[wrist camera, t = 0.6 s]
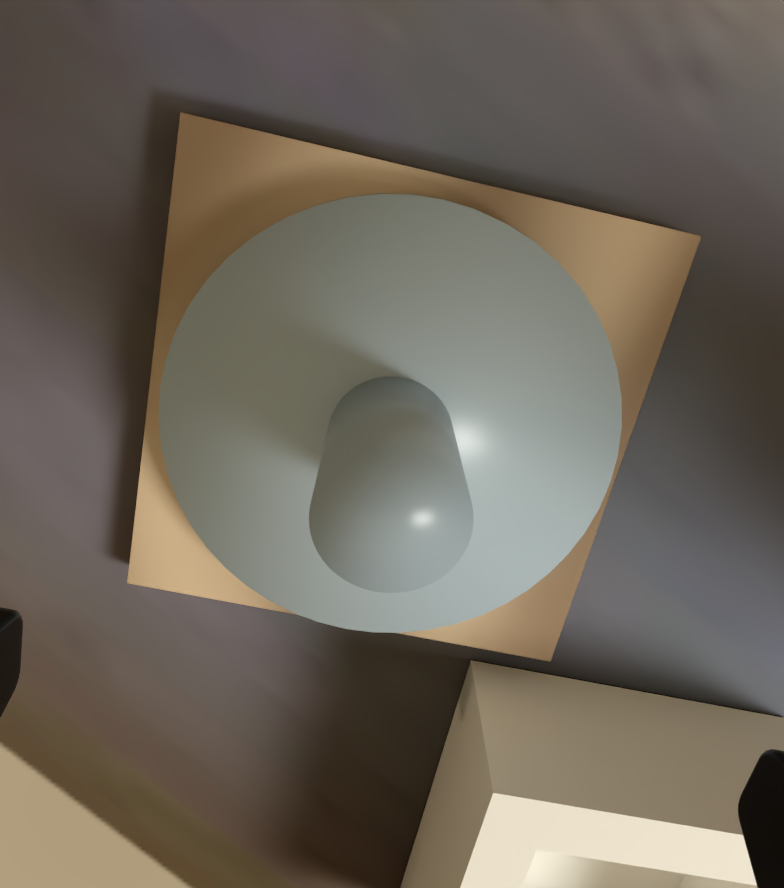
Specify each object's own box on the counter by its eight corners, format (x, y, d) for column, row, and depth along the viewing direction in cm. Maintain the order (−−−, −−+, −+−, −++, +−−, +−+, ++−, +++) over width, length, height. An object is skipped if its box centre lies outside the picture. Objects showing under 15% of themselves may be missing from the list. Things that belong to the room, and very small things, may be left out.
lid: (673, 253, 17) (794, 289, 12) (538, 643, 21) (587, 798, 16) (200, 141, 16) (115, 130, 11) (147, 570, 20) (64, 708, 15)
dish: (784, 718, 23) (886, 859, 18) (672, 941, 26) (734, 1108, 22) (471, 660, 22) (493, 792, 17) (397, 898, 26) (399, 1062, 21)
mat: (688, 232, 18) (701, 236, 17) (545, 644, 22) (550, 661, 21) (189, 114, 17) (180, 112, 16) (136, 568, 21) (127, 583, 20)
